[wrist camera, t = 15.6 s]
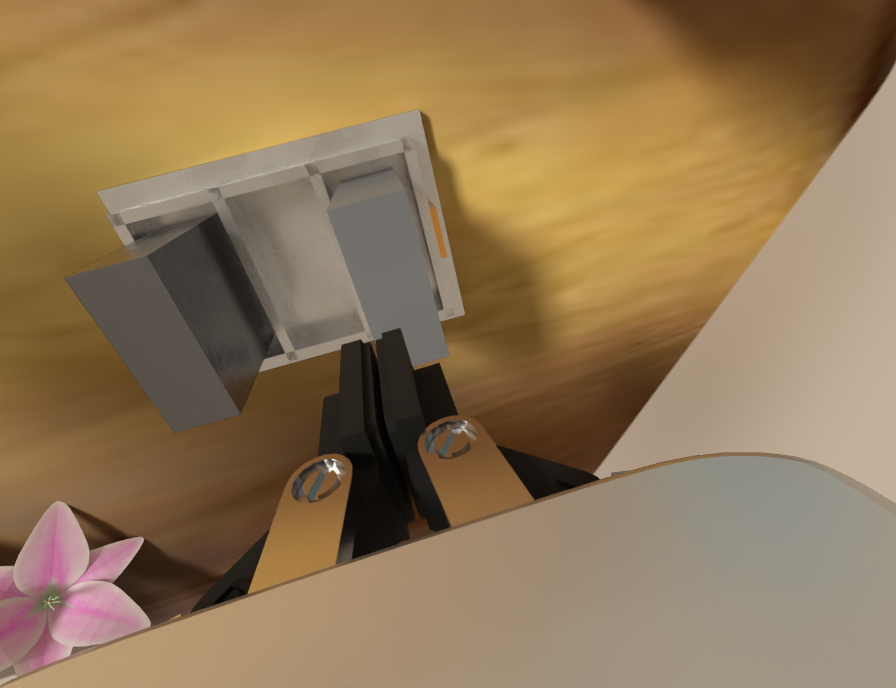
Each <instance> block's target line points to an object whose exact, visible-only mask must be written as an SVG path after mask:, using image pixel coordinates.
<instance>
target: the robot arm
mask: <svg viewBox="0 0 896 688" xmlns="http://www.w3.org/2000/svg"><path fill="white" fill-rule="evenodd" d="M376 350H377V359H378V362H377V359H376V356H375V353H374V350H373V348H372V345H371V343H370V342H368V343H364V344H363V342H362V340H361V339H359V340H356V341H353V342H349V343H346V344H342V345H341V362H340V387H339V393H337V394H334V395H330V396H327V397H325V398H324V401H323V411H322V422H321V432H320V443H319V453H318V457H316V458H314V459H312V460H310V461H308V462H306V463H305V464H304V465H302V466H301V467H300V468H298V469H297V470H296V471H295V472H294V474H293V475H292V476H291V477H290V478H289V480H288V482H287V484H286V486H285V489H284V492H283V494H282V497H281V500H280V503H279V506H278V509H277V511H276V514H275V517H274V520H273V523H272V526H271V528H270V529H269V530H268V531H267V532H266V533H265V534H264V535H263V536H262V537H261V538H260V539H259V540H258V541H257V542H256V543H255V544H254V545H253V546H252V547H251V548H250V549H249V550H248V551H247V552H246V553H245V554H244V555H243V557H242V558H241V559H240V560H239V561H238V562H237V563H236V564H235V565H234V566H233V567H232V568H231V569H230V570H229V571H228V572H227V573H226V574H225V575H224V576H223V577H222V578H221V579H220V580H219V581H218V582H217V583H216V584H215V585H214V586H213V587H212V588H211V589H210V590H209V591H208V592H207V593H206V594H205V595H204V596H203V597H202V598H201V599H200V600H199V602H198V603H197V604H196V605H195V606H194V608H193V609H192V611H191V613H189V614H186V615H182V614H180V615H178V616H176V617H174V618H172V619H170V620H168V621H166V622H163V623H160V624H157V625H154V626H151V627H148V628H145V629H142V630H139V631H136V632H133V633H131V634H128V635H125V636H122V637H119V638H116V639H113V640H111V641H108V642H105V643H103V644H100V645H97V646H95V647H92V648H89V649H87V650H84V651H81V652H79V653H76V654H73V655H70V656H68V657H65V658H62V659H60V660H57V661H54V662H52V663H49V664H46V665H44V666H42V667H39V668H37V669H35V670H33V671H30V672H28V673H26V674H24V675H21V676H19V677H17V678H15V679H12V680H10V681H8V682H6V683H4V684H2V685H0V688H896V504H895V503H894V502H892V501H891V500H889V499H887V498H886V497H884V496H882V495H881V494H879V493H877V492H876V491H874V490H873V489H871V488H869V487H867V486H866V485H864V484H862V483H860V482H858V481H856V480H854V479H853V478H851V477H849V476H847V475H844V474H843V473H841V472H838V471H836V470H834V469H832V468H830V467H827V466H824V465H822V464H820V463H817V462H814V461H811V460H807V459H803V458H799V457H795V456H788V455H781V454H772V453H759V452H750V453H749V452H748V453H747V452H741V453H739V452H735V453H733V452H725V453H716V454H706V455H697V456H691V457H685V458H680V459H675V460H669V461H664V462H660V463H657V464H653V465H649V466H646V467H642V468H639V469H635V470H630V471H622V472H613V473H612V476H611V477H607V478H604V479H599V478H598V477H597V476H595V475H592V474H590V473H588V472H586V471H583V470H579V469H576V468H572V467H569V466H566V465H562V464H559V463H555V462H552V461H549V460H545V459H542V458H538V457H535V456H532V455H528V454H525V453H522V452H518V451H515V450H511V449H508V448H505V447H501V446H498V445H495V443H494V442H493V441H492V439H491V438H490V436H489V435H488V433H487V432H486V431H485V429H484V428H483V426H482V425H481V424H480V423H479V422H478V421H477V420H475V419H473V418H470V417H467V416H460V415H458V413H457V410H456V407H455V405H454V402H453V399H452V396H451V394H450V391H449V388H448V385H447V383H446V380H445V377H444V374H443V372H442V369H441V366H440V363H437V364H434V365H431V366H427V367H424V368H421V369H417V370H414V369H413V366H412V363H411V359H410V356H409V353H408V350H407V347H406V344H405V340H404V337H403V334H402V331H401V328H397V329H394V330H390V331H387V332H383V333H382V338H381V339H378V340H376ZM411 494H412V497H413V499H414V502H415V505H416V507H417V510H418V512H419V515H420V517H421V519H425V518H426V520H427V523H428V525H429V528H430V529H431V530H433V531H436V532H434V533H431V534H428V535H425V536H422V537H419V538H416V539H413V540H410V541H407V542H404V543H401V544H398V543H399V542H401V541H404V540H407V539H410V537H409V530H408V524H409V523H412V522H415V516H414V510H413V504H412V497H411Z"/></svg>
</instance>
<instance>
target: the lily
mask: <svg viewBox="0 0 896 688" xmlns="http://www.w3.org/2000/svg"><path fill="white" fill-rule="evenodd" d="M143 542H144V538H142V537H135V538H130V539H126V540H122V541H118V542H115V543H112V544H109V545H105V546H102V547H100V548H97V549H94V550H91V551H89V548H88V544H87V541H86V539H85V536H84V534H83V532H82V530H81V528H80V526H79V524H78V522H77V519H76V518H75V516H74V514H73V513H72V511H71V509H70V508H69V507H68V506H67V504H66V503H62V502H59V501H56V502H55V503H53V504H52V505H51V506H50V507H49V508H48V509H47V511H46V512H45V513H44V515H43V516H42V518H41V519H40V521H39V522H38V524H37V525H36V527H35V528H34V530H33V531H32V533H31V535H30V536H29V538H28V540H27V541H26V543H25V545H24V547H23V548H22V550H21V552H20V554H19V556H18V558H17V560H16V563H15V565H14V566H0V671H2V670H4V669H6V668H8V667H10V666H11V665H13V666H14V669H15V672H16V676H17V677H19V676H21V675H24V674H26V673H28V672H30V671H33V670H35V669H37V668H39V667H42V666H44V665H46V664H49V663H52V662H54V661H57V660H60V659H62V658H65V657H68V656H70V653H71V651H72V648H73V646H89V645H96V644H102V643H105V642H108V641H111V640H113V639H116V638H119V637H122V636H125V635H128V634H131V633H133V632H136V631H139V630H142V629H145V628H148V627H150V625H151V622H150V620H149V618H148V617H147V615H146V614H145V613H144V612H143V610H142V609H141V608H140V607H139V606H138V605H137V604H136V603H135V602H134V601H133V600H132V599H131V598H130V597H129V596H128V595H127V594H126V593H124V592H123V591H122V590H121V589H120V588H118V587H117V586H115V585H114V584H112V583H113V582H114V581H115V580H116V579H117V577H118V576H119V575H120V574H121V573H122V572H123V570H124V569H125V568H126V567H127V565H128V564H129V563H130V562H131V560H132V559H133V557H134V556H135V555H136V553H137V552H138V550H139V549H140V547H141V545H142V544H143Z"/></svg>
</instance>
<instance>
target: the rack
mask: <svg viewBox="0 0 896 688" xmlns="http://www.w3.org/2000/svg"><path fill="white" fill-rule="evenodd" d="M388 168H393V170H394V171H395V173H396V175H397V177H398V178H399V180H400V182H401V184H402V186H403V187H404V189H405V193H406V196H407V200H408V204H409V208H410V211H411V215H412V219H413V222H414V226H415V230H416V234H417V237H418V241H419V245H420V248H421V252H422V256H423V259H424V263H425V267H426V271H427V274H428V278H429V282H430V285H431V289H432V293H433V297H434V300H435V304H436V308H437V311H438V315H439V319H440V322H441V321H444V320H448V319H452V318H455V317H459V316H462V315H465V312H464V307H463V303H462V298H461V294H460V289H459V285H458V281H457V276H456V272H455V267H454V263H453V258H452V254H451V249H450V245H449V240H448V236H447V231H446V227H445V222H444V218H443V213H442V209H441V204H440V200H439V195H438V191H437V187H436V182H435V178H434V173H433V169H432V164H431V160H430V155H429V151H428V146H427V142H426V137H425V133H424V128H423V124H422V119H421V115H420V110H419V109H417V110H414V111H410V112H406V113H402V114H398V115H394V116H390V117H386V118H382V119H378V120H374V121H371V122H367V123H363V124H359V125H355V126H351V127H347V128H343V129H339V130H335V131H332V132H328V133H324V134H320V135H316V136H312V137H308V138H304V139H300V140H296V141H292V142H289V143H285V144H281V145H277V146H273V147H269V148H265V149H261V150H257V151H253V152H249V153H246V154H242V155H238V156H234V157H230V158H226V159H222V160H218V161H214V162H210V163H206V164H203V165H199V166H195V167H191V168H187V169H183V170H179V171H175V172H171V173H167V174H163V175H160V176H156V177H152V178H148V179H144V180H140V181H136V182H132V183H128V184H124V185H120V186H117V187H113V188H109V189H105V190H101V191H97V194H98V195H99V197H100V199H101V200H102V202H103V204H104V205H105V207H106V209H107V210H108V212H109V213H110V215H107V216H106V217H107V218H108V220H109V221H110V223H111V225H112V226H113V228H114V230H115V231H116V233H117V234H118V236H119V238H120V239H121V241H122V243H123V244H124V247H122V248H120V249H118V250H116V251H115V252H113V253H111V254H109V255H107V256H105V257H103V258H101V259H99V260H97V261H95V262H93V263H91V264H90V265H88V266H86V267H84V268H82V269H80V270H78V271H76V272H74V273H72V274H70V275H68V276H66V277H65V278H64V279H65V280H66V282H67V283H68V284H69V286H70V287H71V289H72V290H73V291H74V293H75V294H76V296H77V297H78V298H79V300H80V301H81V303H82V304H83V305H84V307H85V308H86V310H87V311H88V312H89V314H90V315H91V317H92V318H93V319H94V321H95V322H96V324H97V325H98V326H99V328H100V329H101V331H102V332H103V333H104V335H105V336H106V338H107V339H108V340H109V342H110V343H111V345H112V346H113V347H114V349H115V350H116V352H117V353H118V354H119V356H120V357H121V359H122V360H123V361H124V363H125V364H126V366H127V367H128V368H129V370H130V371H131V373H132V374H133V375H134V377H135V378H136V380H137V381H138V382H139V384H140V385H141V387H142V388H143V389H144V391H145V392H146V394H147V395H148V396H149V398H150V399H151V401H152V402H153V404H154V405H155V406H156V408H157V409H158V411H159V412H160V413H161V415H162V416H163V418H164V419H165V420H166V422H167V423H168V425H169V426H170V427H171V429H172V430H173V432H174V433H176V432H180V431H183V430H187V429H190V428H194V427H197V426H201V425H205V424H208V423H212V422H215V421H219V420H222V419H226V418H229V417H233V416H236V415H240V414H241V412H242V410H243V408H244V405H245V403H246V401H247V398H248V396H249V394H250V391H251V389H252V387H253V384H254V382H255V380H256V377H257V375H258V373H259V372H262V371H265V370H269V369H272V368H276V367H280V366H283V365H287V364H290V363H294V362H298V361H301V360H305V359H308V358H312V357H315V356H319V355H323V354H326V353H330V352H333V351H337V350H340V349H341V345H342V344H346V343H349V342H353V341H356V340H359V339H361V340H362V342H363V343H366V342H369V341H373V340H374V339H373V336H372V333H371V331H370V328H369V325H368V323H367V320H366V317H365V314H364V312H363V309H362V306H361V303H360V301H359V298H358V295H357V293H356V290H355V287H354V284H353V282H352V279H351V276H350V273H349V271H348V268H347V265H346V263H345V260H344V257H343V254H342V252H341V249H340V246H339V243H338V241H337V238H336V235H335V232H334V230H333V227H332V224H331V222H330V219H329V216H328V213H327V211H326V210H327V208H328V206H329V204H330V201H331V199H332V197H333V194H334V192H335V190H336V188H337V185H338V183H339V182H340V181H344V180H348V179H351V178H355V177H359V176H362V175H366V174H370V173H373V172H377V171H381V170H384V169H388Z"/></svg>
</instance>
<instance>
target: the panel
mask: <svg viewBox="0 0 896 688" xmlns="http://www.w3.org/2000/svg"><path fill="white" fill-rule="evenodd" d="M326 211H327V213H328V216H329V219H330V222H331V224H332V227H333V230H334V232H335V235H336V238H337V241H338V243H339V246H340V249H341V252H342V254H343V257H344V260H345V263H346V265H347V268H348V271H349V273H350V276H351V279H352V282H353V284H354V287H355V290H356V293H357V295H358V298H359V301H360V303H361V306H362V309H363V312H364V314H365V317H366V320H367V323H368V325H369V328H370V331H371V333H372V336H373V339H374V342H375V344H376V340H378V339H381V338H382V333H383V332H387V331H390V330H394V329H397V328H401V331H402V334H403V337H404V340H405V344H406V347H407V350H408V353H409V356H410V359H411V363H412V366H416V365H420V364H423V363H427V362H430V361H434V360H437V359H440V358H444V357H447V356H449V352H448V348H447V345H446V341H445V337H444V334H443V330H442V326H441V323H440V319H439V315H438V311H437V308H436V304H435V300H434V297H433V293H432V289H431V285H430V282H429V278H428V274H427V271H426V267H425V263H424V259H423V256H422V252H421V248H420V245H419V241H418V237H417V234H416V230H415V226H414V222H413V219H412V215H411V211H410V208H409V204H408V200H407V196H406V193H405V189H404V187H403V186H402V184H401V182H400V180H399V178H398V177H397V175H396V173H395V171H394V170H393V168H388V169H384V170H381V171H377V172H373V173H370V174H366V175H362V176H359V177H355V178H351V179H348V180H344V181H340V182H339V183H338V185H337V188H336V190H335V192H334V194H333V197H332V199H331V201H330V204H329V206H328V208H327V210H326Z"/></svg>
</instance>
